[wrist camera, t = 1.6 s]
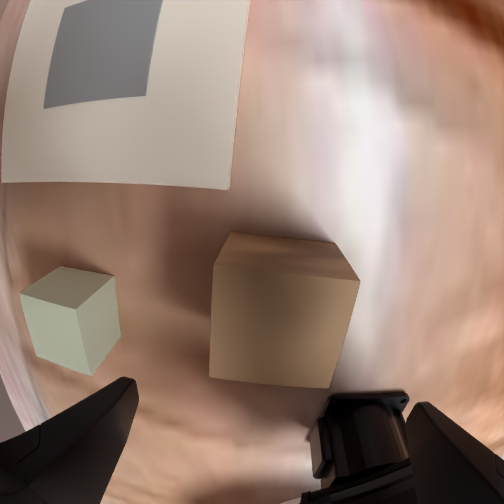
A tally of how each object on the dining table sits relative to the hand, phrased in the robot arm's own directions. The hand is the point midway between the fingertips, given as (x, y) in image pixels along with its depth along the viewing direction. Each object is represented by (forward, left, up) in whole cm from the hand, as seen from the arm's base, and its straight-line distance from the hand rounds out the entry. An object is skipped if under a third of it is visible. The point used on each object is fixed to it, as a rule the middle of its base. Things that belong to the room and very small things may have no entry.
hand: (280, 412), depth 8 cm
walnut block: (0, 0, -9) cm, 9 cm away
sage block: (+12, +3, -9) cm, 15 cm away
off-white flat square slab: (+11, -13, -9) cm, 19 cm away
